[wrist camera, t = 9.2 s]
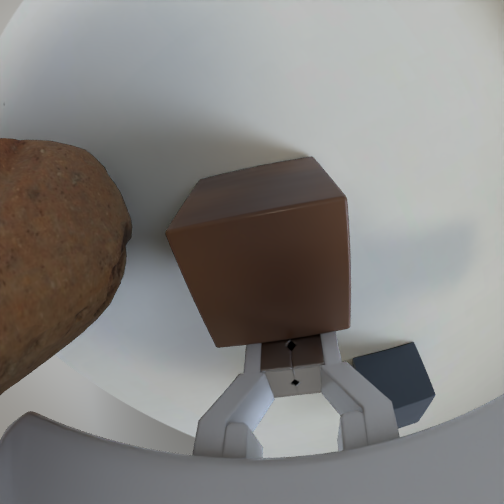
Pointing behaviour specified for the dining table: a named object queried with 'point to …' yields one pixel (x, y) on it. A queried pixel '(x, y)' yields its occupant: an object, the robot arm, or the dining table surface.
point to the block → (54, 250)
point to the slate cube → (399, 380)
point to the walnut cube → (266, 253)
